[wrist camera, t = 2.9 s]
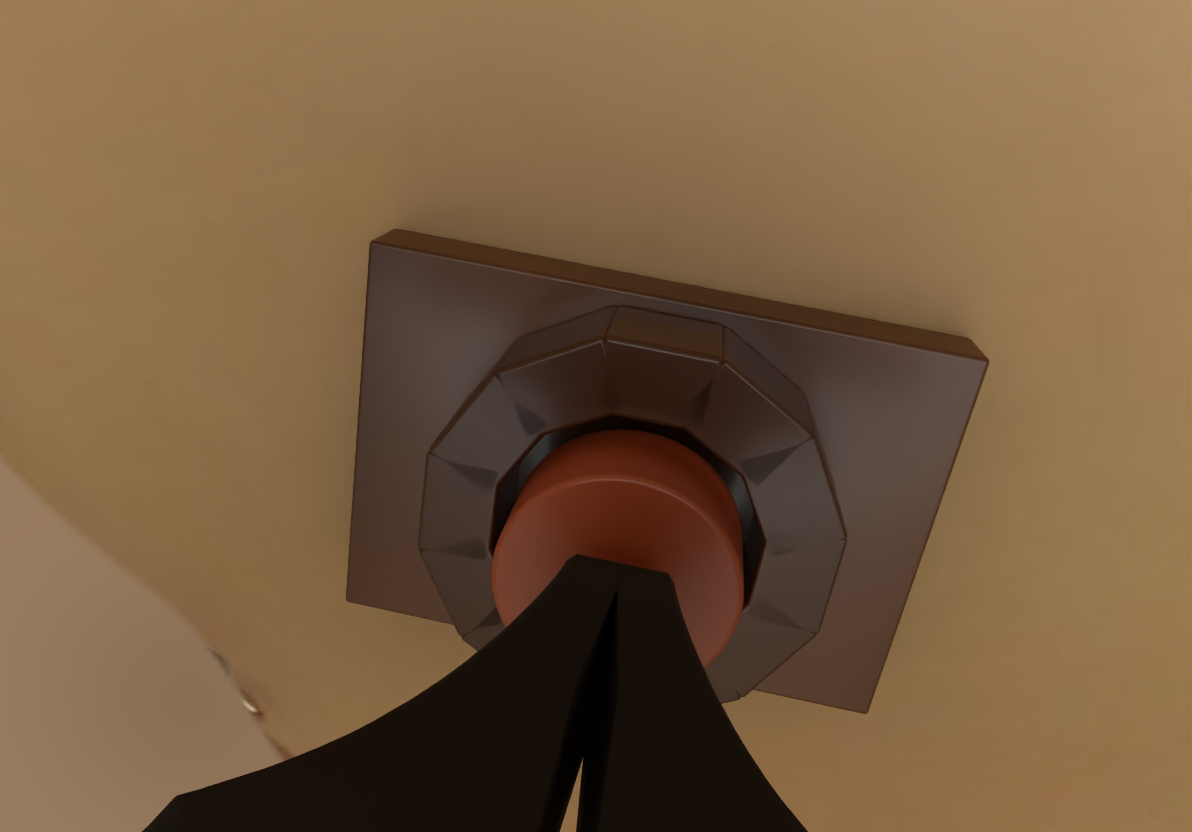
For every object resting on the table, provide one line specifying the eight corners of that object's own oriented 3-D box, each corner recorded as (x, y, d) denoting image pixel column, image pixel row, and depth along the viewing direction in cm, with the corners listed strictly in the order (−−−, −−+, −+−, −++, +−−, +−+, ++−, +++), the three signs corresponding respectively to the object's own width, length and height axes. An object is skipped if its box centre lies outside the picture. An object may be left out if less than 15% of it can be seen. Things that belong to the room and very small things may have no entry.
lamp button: (502, 603, 15) (476, 667, 14) (530, 406, 14) (506, 451, 12) (714, 649, 15) (713, 720, 13) (765, 453, 14) (771, 506, 12)
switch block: (366, 570, 18) (304, 660, 16) (393, 227, 16) (323, 263, 13) (858, 675, 18) (884, 788, 15) (972, 338, 15) (1027, 400, 12)
